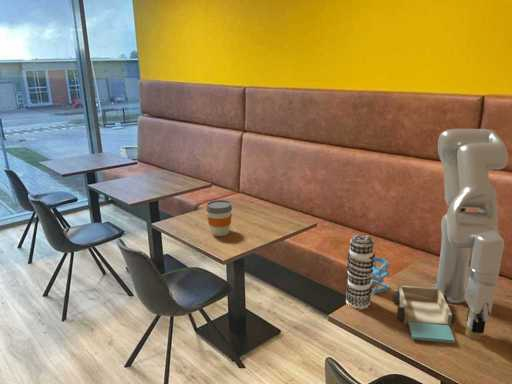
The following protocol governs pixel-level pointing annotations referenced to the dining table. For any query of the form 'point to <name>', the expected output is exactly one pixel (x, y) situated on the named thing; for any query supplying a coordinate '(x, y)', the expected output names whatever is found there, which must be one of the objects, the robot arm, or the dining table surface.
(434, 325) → the tailgate
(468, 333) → the sprinkles bottle
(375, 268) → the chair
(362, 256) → the black white patterned cylinder
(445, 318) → the cargo bed
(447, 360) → the dining table surface
